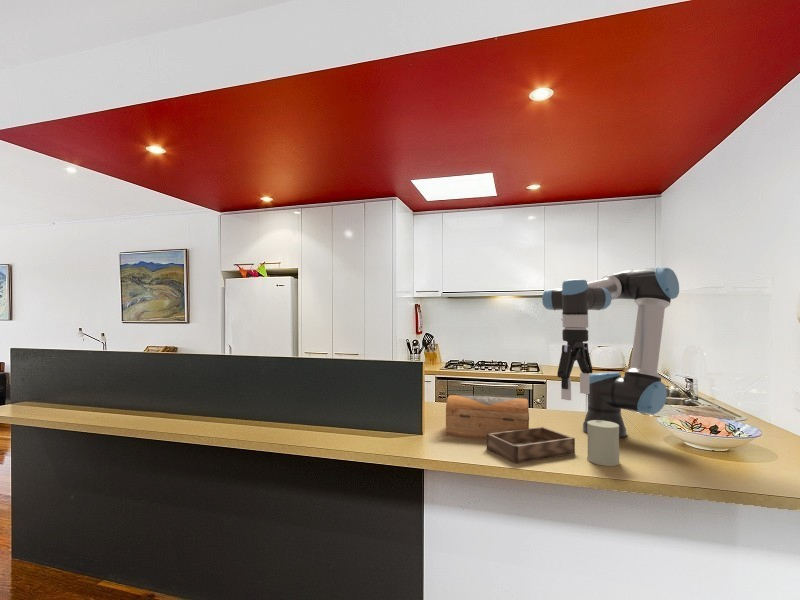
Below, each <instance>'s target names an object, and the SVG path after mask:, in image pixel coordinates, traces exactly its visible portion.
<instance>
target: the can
mask: <svg viewBox="0 0 800 600" xmlns="http://www.w3.org/2000/svg"><path fill="white" fill-rule="evenodd" d="M587 431H588V433H587V456H586V459H587V461H588V462H589V463H592V464H595V465H598V466H605V467H616V466H619V465H620V464H621V463H620V437H619V425H618V424H616V423H614V422H610V421H603V420H591V421H588V422H587Z"/></svg>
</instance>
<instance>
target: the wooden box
mask: <svg viewBox="0 0 800 600" xmlns="http://www.w3.org/2000/svg"><path fill="white" fill-rule="evenodd" d="M529 411H530V410H529V400H528V398H521V397H520V398H519V397H502V396H486V395H485V396H484V395H483V396H482V395H459V394H458V395H456V394H454V395H453V394H451V395H450V394H449V395H448V397H447V399H446V404H445V436H448V437H459V438H473V439H486V440H487V434H490V433H498V432H506V431H514V430H521V429H529V428H530V422H529V421H530V412H529Z"/></svg>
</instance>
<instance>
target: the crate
mask: <svg viewBox="0 0 800 600" xmlns="http://www.w3.org/2000/svg"><path fill="white" fill-rule="evenodd" d="M575 441H576V438H575V437H572V436H569V435H567V434H563V433H561V432H558V431H556V430H554V429H549V428H547V427H544V426H538V427H532V428H530V427H529V429H521V430H514V431H506V432H498V433H490V434H487V439H486V450H488V451H490V452H493V453H494V454H496V455H498V456H500V457H503V459H507V460H508V461H510V462H512V463H514V464H520V463H528V462H532V461H538V460H543V459H550V457H551V458H556V456H557V457H563V456H562V455H564V456H569V454H570V455H575V453H576V446H575V445H576V444H575V443H576V442H575Z"/></svg>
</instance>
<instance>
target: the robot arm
mask: <svg viewBox="0 0 800 600" xmlns="http://www.w3.org/2000/svg"><path fill="white" fill-rule="evenodd" d="M679 293H680V283H679V280H678V277H677V275H676V273H675V271H674V270H673V269H671V268H670V267H656V266H655V267H652V268H651V267H649V268H639V269H638V268H637V269H628V270H624V271H620V272H616V273H612V274H609V275H605V276H603V277H601V279H599V280H598V279H597V280H593V281H589V282H588V281H587V280H586V279H565V280H563V282H562V287H560V288H550V289H546V290H544V292H543V294H542V296H541V299H542V300H541V302H542V305H543V306H544V308H545V309H546V310H551V311H562V313H561V314H562V317H561V321H562V328H563V330H562V340H563V341H564V342H567V343H566V344H562V345H561V355H560V358H559V364H558V369H557V378H559V379H560V381H561V383H560V384H561V385H560V387H561V393H560V394H561V397H560V399H561V400H563V401H572V378H571V373H572V371H573V369H574V364H575V362H576V361H577V365H578V367H579V369H580V372H579V393H580V394H586V395H587V412H586V415H585V418H584V421H583V424H582V431H583V432H584V433H587V434H588V431H587V422H588V421H591V420H603V421H610V422H614V423H616V424H618V425H619V438H625V437H626V436H627V428H626V425H625V423H624V418H623V416H622V410H627V411H631V412H635V413H636V412H637V413H640V414H647V415H648V414H649V415H656V414H658V413H660V411H661V410H662V409H663V408H664V406H665V403H666V401H667V396H668V391H667V389H668V388H667V386H666V384H665V383H664V382H662V376H660V374H659V373H658V367H659V359H660V353H661V352H660V351H661V343H662V342H661V341H662V334H663V326H664V317H665V311H666V310H665V309H667V308H669V306H671V302H672V301H671V300H674V299H676V298H678V296H679ZM617 299H619V300H634V303H635V305H637V314H636V320H635V329H634V330H635V331H634V335H633V336H634V337H633V344H632V352H631V357H630V359H631V360H630V365H629V366H630V367H629V368H628V369H627V370H624V376H622V374H621V372H619V371H617V372H616V371H609V372H608V371H607V372H606V371H605V372H603V371H602V372H594V371H593V365H592V362H591V361H592V360H591V356H590V353H589V352H590V351H589V344H588V341H589V330H588V329H587V328H589V311H601V310H603V311H604V310H606V309H608V307H609V306H610V305H611V303H612V300H617Z"/></svg>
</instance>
